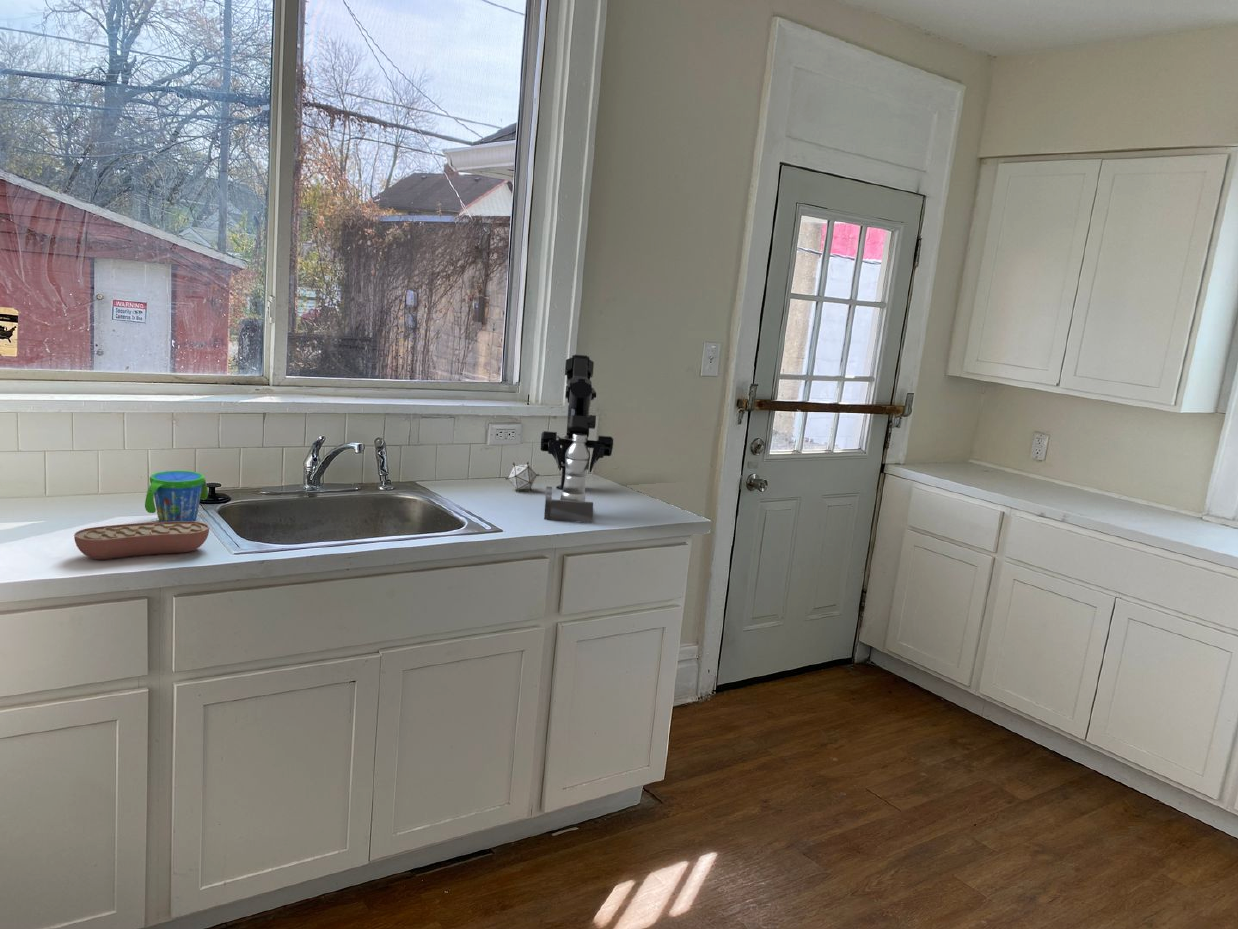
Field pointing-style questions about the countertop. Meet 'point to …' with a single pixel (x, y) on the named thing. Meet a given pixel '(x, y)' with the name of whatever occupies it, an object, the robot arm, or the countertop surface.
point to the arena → (567, 509)
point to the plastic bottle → (576, 469)
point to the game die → (522, 476)
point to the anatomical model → (141, 539)
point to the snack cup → (176, 495)
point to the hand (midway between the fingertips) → (575, 470)
